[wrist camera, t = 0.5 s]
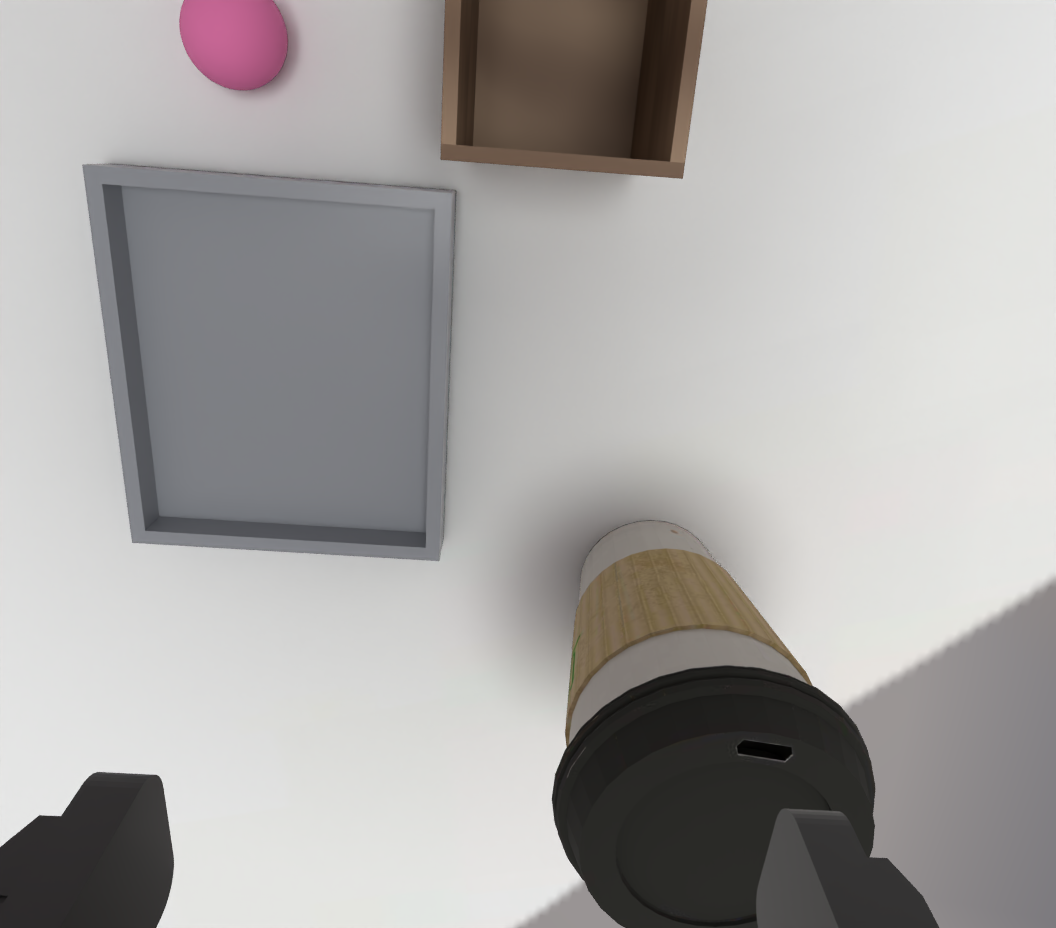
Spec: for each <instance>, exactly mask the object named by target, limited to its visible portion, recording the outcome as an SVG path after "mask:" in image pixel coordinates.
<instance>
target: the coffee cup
mask: <svg viewBox="0 0 1056 928" xmlns="http://www.w3.org/2000/svg"><path fill="white" fill-rule="evenodd" d="M565 736H566V745H567V748H566V750H565V752H564V754H563V756H562V759H561V761H560V764H559V766H558V769H557V771H556V774H555V780H554V787H553V794H552V804H553V812H554V821H555V825H556V828H557V830H558V835H559V837H560V840H561V843H562V845H563V848H564V850H565V853H566V856H567V857H568V859H569V861H570V862H571V864H572V865H573V867H574V868H575V869H576V871H577V872H578V874H579V875H580V877H581V878H582V879H583V880H584V881H585V883H586V885H587V888H588V891H589V892H590V893H591V895H592V896H593V898H594V899H595V901H596V902H597V903H598V905H599V906H600V908H601V909H602V910H603V911H605V912H606V913H607V914H608V915H609V916H610V917H611V918H612V919H614V920H615V921H616V922H617V923H618V924H620V925H621V926H623V927H625V928H758V924H757V914H756V896H757V889H758V884H759V880H760V877H761V873H762V869H763V866H764V862H765V859H766V855H767V851H768V848H769V844H770V840H771V837H772V833H773V829H774V826H775V822H776V819H777V816H778V814H779V812H780V811H781V810H782V809H803V810H823V811H840V812H842V813H843V814H844V815H845V816H846V817H847V818H848V820H849V821H850V823H851V825H852V827H853V829H854V831H855V833H856V835H857V837H858V839H859V842H860V844H861V846H862V848H863V850H864V852H865V854H866V856H867V857H870V854H871V851H872V848H873V839H874V828H875V825H874V820H873V808H874V798H875V782H874V776H873V771H872V765H871V760H870V758H869V754H868V750H867V747H866V745H865V743H864V741H863V738H862V736H861V734H860V732H859V730H858V728H857V726H856V724H855V723H854V722H853V721H852V719H851V718H849V716H848V715H847V713H846V712H845V711H844V710H843V709H842V707H841V706H840V705H839V704H837V703H836V702H835V701H833V700H832V699H831V698H830V697H828V696H827V695H826V694H824V693H823V692H822V691H820V690H819V689H818V688H816V687H814V686H812V684H811V681H810V679H809V677H808V675H807V673H806V672H805V671H804V669H803V668H802V667H801V665H800V664H799V663H798V662H797V660H796V659H795V658H794V656H793V655H792V654H791V653H790V651H789V650H788V649H787V647H786V646H785V645H784V644H783V642H782V641H781V640H780V638H779V637H778V636H777V635H776V633H775V632H774V631H773V630H772V628H771V627H770V626H769V624H768V623H767V622H766V621H765V619H764V618H763V617H762V615H761V614H760V613H759V612H758V610H757V609H756V608H755V606H754V605H753V604H752V603H751V601H750V600H749V599H748V597H747V596H746V595H745V594H744V592H743V591H742V590H741V588H740V587H739V586H738V585H737V583H736V582H735V581H734V580H733V578H732V577H731V576H730V575H729V574H728V572H727V571H726V570H724V569H723V568H722V567H721V566H719V565H718V564H717V563H716V562H715V560H714V559H713V558H712V556H711V555H710V554H709V552H708V551H707V550H706V548H705V547H704V546H703V545H702V543H701V542H700V541H699V540H698V539H697V538H696V537H695V536H694V535H692V534H691V533H690V532H689V531H687V530H685V529H683V528H681V527H679V526H677V525H674V524H670V523H667V522H662V521H640V522H634V523H631V524H627V525H624V526H622V527H620V528H617V529H615V530H613V531H611V532H610V533H609V534H607V535H606V536H604V537H603V538H602V539H601V540H600V541H599V542H598V543H597V544H596V545H595V546H594V547H593V548H592V550H591V551H590V553H589V554H588V556H587V558H586V560H585V562H584V565H583V568H582V573H581V580H580V593H579V605H578V607H577V610H576V616H575V623H574V634H573V646H572V658H571V670H570V682H569V694H568V706H567V717H566V729H565Z"/></svg>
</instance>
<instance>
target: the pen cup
mask: <svg viewBox="0 0 1056 928" xmlns="http://www.w3.org/2000/svg"><path fill="white" fill-rule="evenodd" d="M706 7H707V0H445V24H444V58H443V93H442V127H441V160H452V161H464V162H477V163H490V164H503V165H515V166H528V167H541V168H554V169H566V170H579V171H592V172H605V173H617V174H630V175H643V176H655V177H668V178H681V179H683V173H684V166H685V158H686V151H687V144H688V137H689V130H690V122H691V115H692V108H693V101H694V94H695V86H696V79H697V72H698V65H699V58H700V50H701V43H702V36H703V29H704V22H705V14H706Z"/></svg>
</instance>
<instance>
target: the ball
mask: <svg viewBox="0 0 1056 928" xmlns="http://www.w3.org/2000/svg"><path fill="white" fill-rule="evenodd" d="M179 22H180V34H181V38H182V42H183V44H184V47H185V50H186V52H187V54H188V56H189V57H190V59H191V61H192V62H193V63H194V65H195V66H196V67H197V68H198V69H199V70H200V71H201V72H202V73H203V74H204V75H205V76H206V77H207V78H209V79H210V80H212V81H213V82H215V83H217V84H219V85H221V86H223V87H226V88H229V89H234V90H252V89H256V88H259V87H261V86H263V85H265V84H267V83H268V82H270V81H271V80H272V79H273V78H274V77H275V76H276V75H277V74H278V72H279V71H280V69H281V68H282V66H283V63H284V61H285V58H286V54H287V45H288V39H287V31H286V26H285V23H284V20H283V18H282V15H281V13H280V11H279V9H278V8H277V6H276V4H275V3H274V2H273V0H184V2H183V5H182V7H181V12H180V20H179Z"/></svg>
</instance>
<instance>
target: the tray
mask: <svg viewBox="0 0 1056 928" xmlns="http://www.w3.org/2000/svg"><path fill="white" fill-rule="evenodd" d="M83 173H84V180H85V188H86V195H87V203H88V211H89V218H90V226H91V233H92V241H93V248H94V256H95V264H96V271H97V279H98V286H99V294H100V302H101V309H102V317H103V324H104V332H105V340H106V347H107V355H108V362H109V370H110V378H111V385H112V393H113V400H114V408H115V415H116V423H117V431H118V438H119V446H120V453H121V461H122V469H123V476H124V484H125V491H126V499H127V507H128V514H129V522H130V529H131V537H132V543H146V544H163V545H179V546H196V547H213V548H230V549H246V550H263V551H280V552H297V553H314V554H330V555H347V556H364V557H381V558H397V559H414V560H431V561H439V560H440V555H441V549H442V544H443V539H444V511H445V484H446V457H447V430H448V403H449V375H450V348H451V321H452V294H453V266H454V239H455V212H456V190H444V189H431V188H418V187H405V186H392V185H379V184H366V183H353V182H340V181H327V180H314V179H302V178H289V177H276V176H263V175H250V174H237V173H224V172H211V171H198V170H185V169H172V168H159V167H146V166H133V165H120V164H85V165H83Z"/></svg>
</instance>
